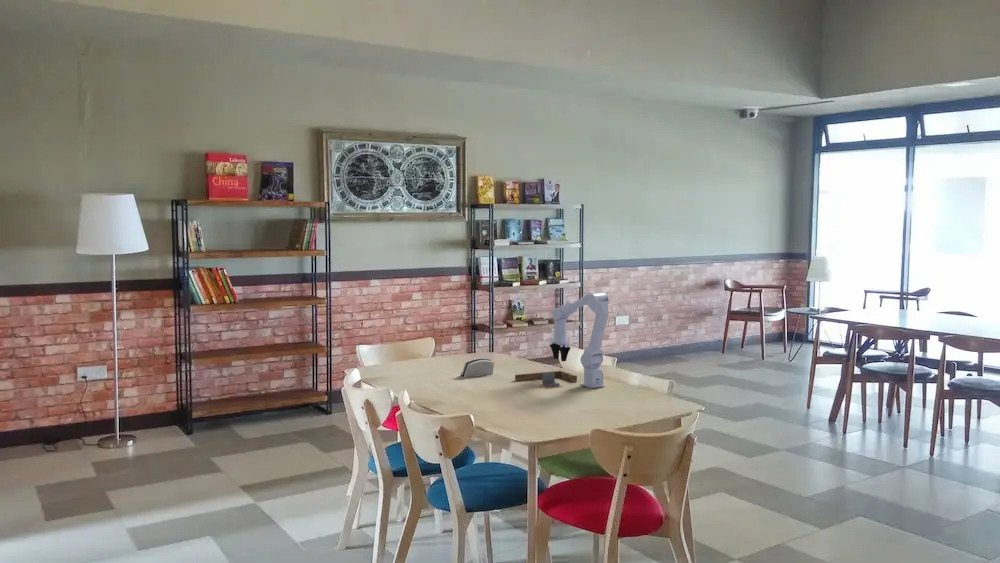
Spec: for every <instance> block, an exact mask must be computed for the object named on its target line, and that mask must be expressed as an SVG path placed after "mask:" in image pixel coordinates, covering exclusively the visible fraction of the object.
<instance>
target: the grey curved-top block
mask: <svg viewBox="0 0 1000 563" xmlns="http://www.w3.org/2000/svg"><path fill="white" fill-rule="evenodd" d="M494 366H495V364H494V361H492V359H490V358H487V357H476V358H472V359H469V360H467V361H465V363H464V366H463V369H462V371H461V372H460V377H462V376H463V375H464V376H463V378H471V377H470V376H473V377H479V376H478V375H481V376H487V375H488V374H489V375H494Z"/></svg>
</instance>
